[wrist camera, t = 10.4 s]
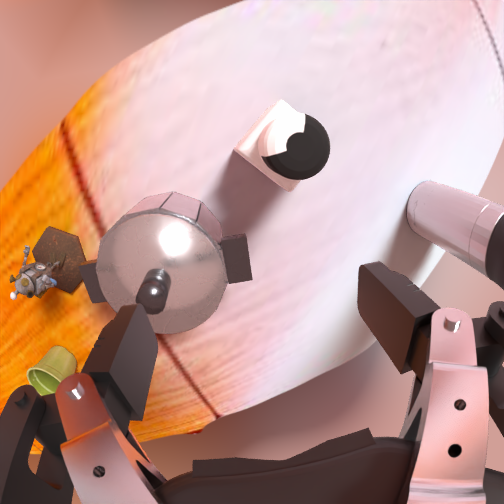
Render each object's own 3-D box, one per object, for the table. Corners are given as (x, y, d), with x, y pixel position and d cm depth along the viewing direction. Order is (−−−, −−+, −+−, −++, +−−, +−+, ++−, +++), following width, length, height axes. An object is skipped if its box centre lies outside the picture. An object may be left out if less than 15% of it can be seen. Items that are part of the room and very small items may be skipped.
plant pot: (37, 335, 39) (18, 364, 31) (75, 340, 40) (57, 373, 32) (54, 370, 43) (40, 399, 35) (90, 376, 44) (78, 408, 36)
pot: (234, 180, 34) (240, 193, 26) (249, 281, 40) (258, 317, 31) (94, 209, 33) (62, 229, 25) (122, 300, 38) (104, 336, 30)
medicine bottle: (311, 142, 33) (353, 144, 22) (276, 184, 35) (304, 203, 24) (268, 106, 31) (294, 89, 20) (232, 149, 33) (240, 152, 22)
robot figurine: (95, 242, 35) (56, 282, 24) (89, 296, 38) (58, 344, 27) (36, 221, 32) (-11, 250, 21) (34, 274, 35) (-5, 312, 24)
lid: (211, 201, 26) (210, 214, 21) (233, 320, 31) (236, 348, 27) (85, 226, 25) (63, 243, 20) (123, 333, 30) (113, 361, 26)
